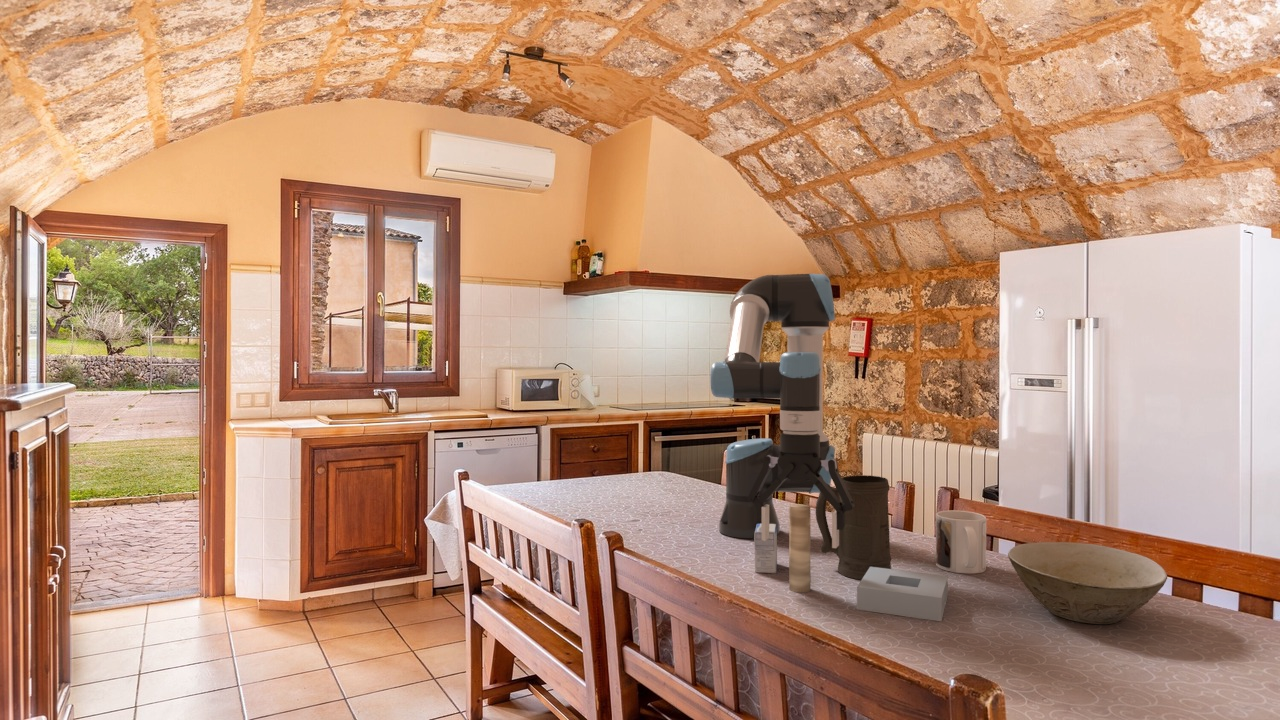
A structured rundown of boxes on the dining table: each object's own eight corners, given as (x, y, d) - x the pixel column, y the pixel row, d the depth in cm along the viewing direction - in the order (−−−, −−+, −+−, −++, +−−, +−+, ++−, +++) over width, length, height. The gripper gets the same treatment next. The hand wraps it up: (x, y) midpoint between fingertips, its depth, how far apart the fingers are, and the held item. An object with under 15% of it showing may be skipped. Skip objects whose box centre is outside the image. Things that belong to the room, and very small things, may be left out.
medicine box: (776, 574, 158) (776, 532, 157) (754, 573, 158) (754, 531, 158) (777, 563, 165) (777, 523, 165) (756, 562, 166) (756, 522, 166)
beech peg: (792, 584, 150) (792, 503, 150) (812, 587, 149) (812, 505, 148) (786, 590, 147) (786, 507, 146) (807, 593, 145) (807, 509, 145)
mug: (996, 567, 162) (996, 515, 162) (975, 580, 153) (976, 524, 153) (946, 558, 169) (946, 508, 169) (924, 569, 160) (924, 517, 160)
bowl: (1171, 652, 117) (1171, 586, 116) (999, 623, 129) (1000, 564, 129) (1163, 607, 137) (1163, 551, 136) (1015, 586, 149) (1016, 534, 149)
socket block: (870, 587, 149) (870, 566, 149) (947, 597, 143) (947, 575, 142) (856, 609, 136) (856, 586, 136) (941, 621, 130) (941, 597, 130)
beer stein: (896, 568, 161) (889, 473, 161) (895, 582, 151) (888, 481, 151) (821, 566, 166) (815, 474, 166) (816, 580, 156) (809, 482, 156)
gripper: (731, 431, 149) (731, 540, 149) (863, 437, 138) (863, 554, 138) (743, 428, 156) (743, 532, 156) (870, 433, 145) (870, 545, 145)
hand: (799, 543), depth 147 cm, fingers open, 13 cm apart
